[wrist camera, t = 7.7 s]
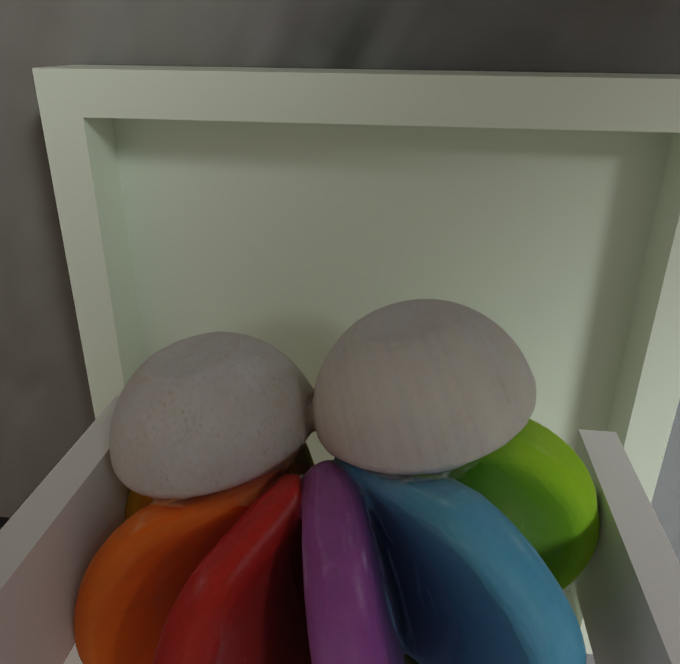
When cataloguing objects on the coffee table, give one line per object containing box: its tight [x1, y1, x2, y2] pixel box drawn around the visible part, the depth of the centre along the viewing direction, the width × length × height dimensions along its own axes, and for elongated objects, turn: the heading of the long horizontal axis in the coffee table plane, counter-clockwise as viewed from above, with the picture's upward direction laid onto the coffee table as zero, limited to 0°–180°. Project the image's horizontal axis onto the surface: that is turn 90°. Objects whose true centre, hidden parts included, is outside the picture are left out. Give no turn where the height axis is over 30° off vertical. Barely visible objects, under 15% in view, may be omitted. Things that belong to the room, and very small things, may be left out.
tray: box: [32, 64, 680, 654], centre depth 17 cm, size 16×15×2 cm
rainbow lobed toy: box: [74, 299, 600, 664], centre depth 11 cm, size 8×10×7 cm
